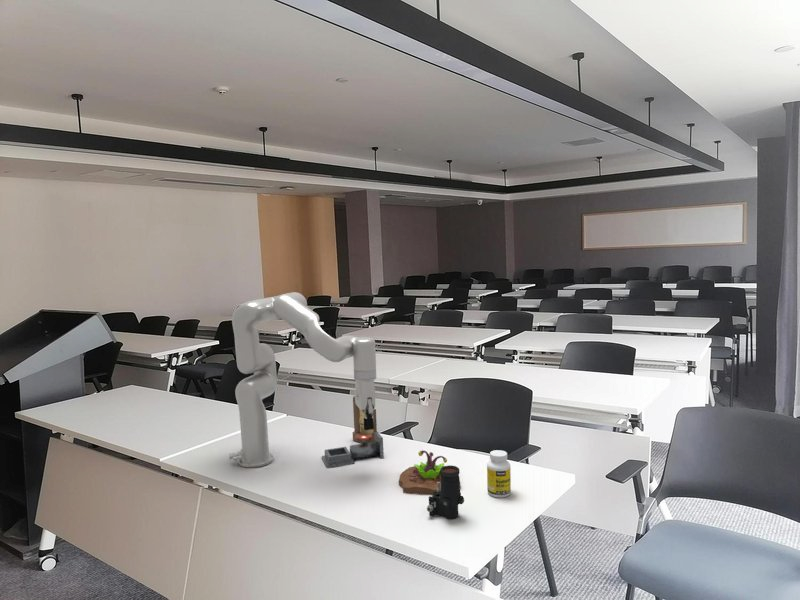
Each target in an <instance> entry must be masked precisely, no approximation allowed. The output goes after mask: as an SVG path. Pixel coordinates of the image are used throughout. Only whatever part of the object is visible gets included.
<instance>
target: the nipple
mask: <svg viewBox="0 0 800 600" xmlns="http://www.w3.org/2000/svg"><path fill="white" fill-rule="evenodd" d="M366 409H368V407H366ZM367 412H368V411H366V413H367ZM364 418H365V416H364V410H360V418H359V421H360V432H361V433H362V434H371V433H373V429H371V430H364ZM373 423H374V418H373Z"/></svg>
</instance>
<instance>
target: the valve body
mask: <svg viewBox="0 0 800 600" xmlns="http://www.w3.org/2000/svg"><path fill="white" fill-rule="evenodd" d="M371 438H372V434H362V433H359V434H357V435H356V439H357V440H362V443H359V444H351V445H349V449H348V448H347V446H341V447H340V446H339V447H336V448H328V449H324V455H322V456H321V459H322V462H323V464H324V465H325V468H326V469H331V468H337V467H344V466H350V465H355V463H356V462H355V460H358V459H363V458H370V457H377V456H378V457H379V458H380V459H384V457H385V455H384V454H385V453H384V438H383V436H382V435H381V434H380V433H379V432H378V431H377V432H374V439H375V442H370V443H366V440H369V439H371Z"/></svg>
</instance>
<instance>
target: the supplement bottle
mask: <svg viewBox="0 0 800 600" xmlns="http://www.w3.org/2000/svg"><path fill="white" fill-rule="evenodd" d="M489 459H490V460H488V462H487V463H486V478H487V479H486V481H487V482H486V483H487V484H486V485H487V489H486V490H487V494H488V495H489V496H491V497H494V498H506V497H508V496H510V495H511V491H512V489H511V487H512V485H511V481H512V480H511V463H510V462H509V461H508V452H507V451H505V450H500V449H499V450H498V449H496V450H495V449H494V450H492V451H490V452H489Z"/></svg>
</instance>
